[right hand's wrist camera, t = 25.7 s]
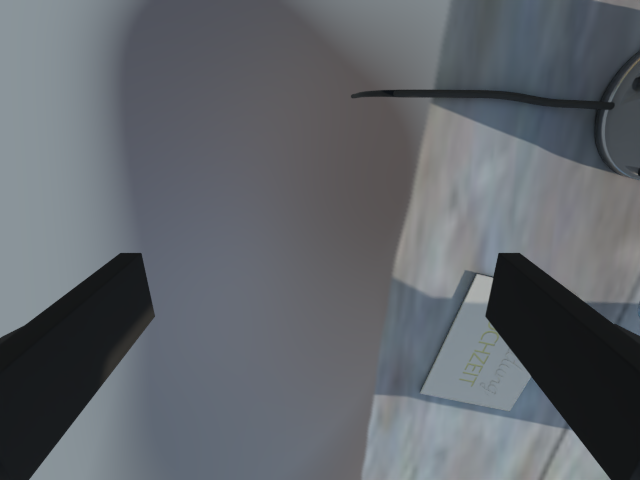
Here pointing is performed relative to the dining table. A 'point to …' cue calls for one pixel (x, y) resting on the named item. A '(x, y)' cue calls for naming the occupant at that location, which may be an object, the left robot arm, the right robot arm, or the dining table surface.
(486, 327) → the invitation card
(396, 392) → the dining table surface
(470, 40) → the dining table surface
